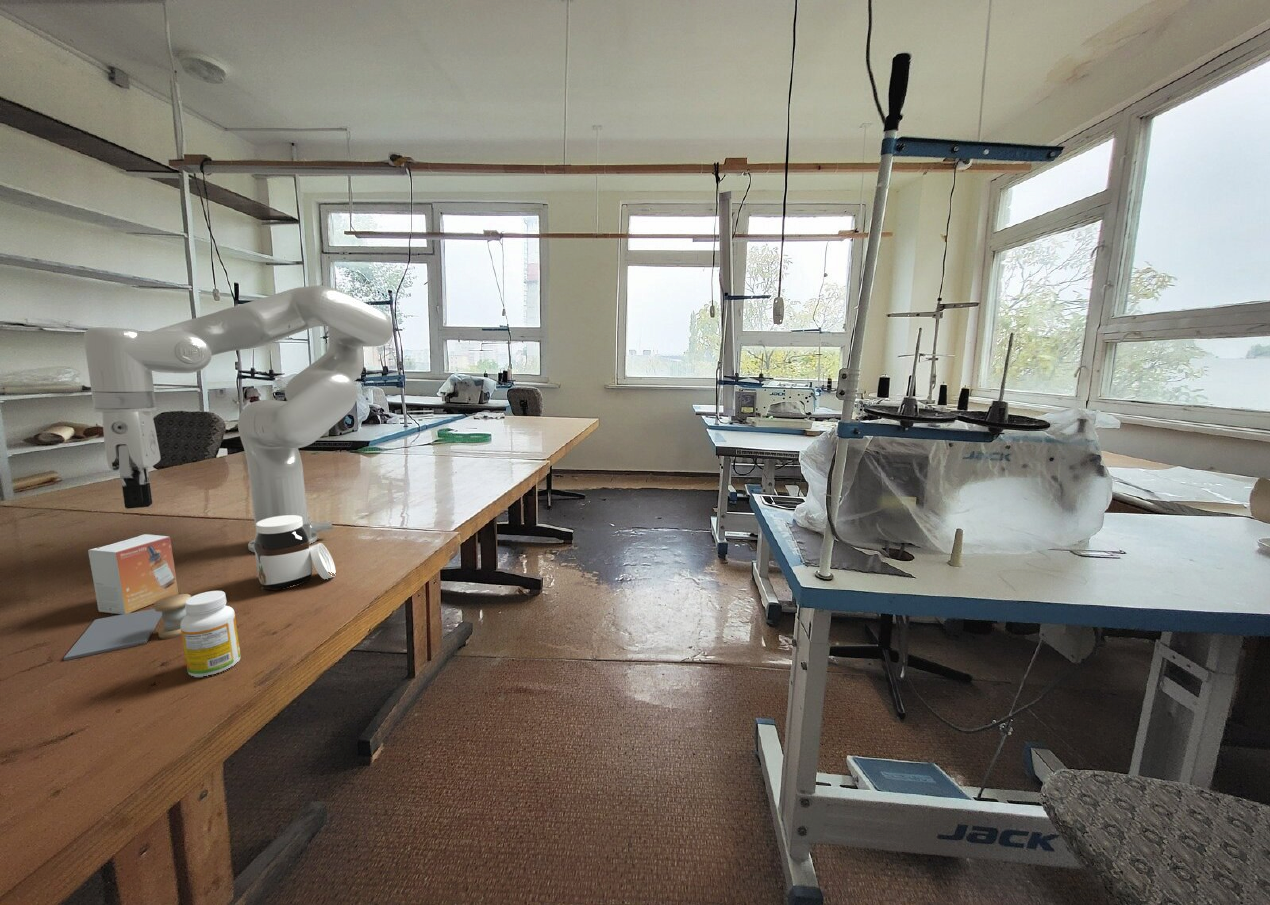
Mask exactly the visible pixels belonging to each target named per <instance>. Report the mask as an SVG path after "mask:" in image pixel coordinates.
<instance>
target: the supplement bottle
mask: <svg viewBox="0 0 1270 905" xmlns="http://www.w3.org/2000/svg"><path fill="white" fill-rule="evenodd" d="M185 609H186V613H187V616H185V617H184V618H183V620H182V621H181V624H180V627H181V634H182V636H181V639H182V645H183V652H184V657H185V665H186V669H187V673H188V675H189V676H190V675H191V677H192V676H194V677H193V678H204V677H203V676H207V677H209V676H208V675H211V674H216V673H218V672H221V671H223V670H226V669H228V668H230V667H231V666H233V667H234V665H235V664H236V663H237V662H238V663H239V662H240V660H241V658H242V657H241V649H240V642H239V634H238V627H237V620H236V612H235V610H234V608H233V607H231V606H229V605H227V597H226V592H224V591H222V590H211V591H205V592H201V593H198V594H197V593H196V594H195V595H191V597H190V598H188V599H187V600H186V601H185ZM238 663H237V664H238ZM237 664H236V665H237ZM236 665H235V666H236ZM230 669H231V668H230ZM228 670H229V669H228ZM226 671H227V670H226ZM216 675H217V674H216Z"/></svg>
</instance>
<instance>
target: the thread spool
mask: <svg viewBox="0 0 1270 905" xmlns="http://www.w3.org/2000/svg"><path fill="white" fill-rule="evenodd" d="M190 597H192V595H191V594H189V593H178V594H177V595H172V596H168V597H165V598H162V599H160V600H158V601H156V602H155V603H153V607H154V608H153V609H154V610H155V611H157V612H162V616H161V618H162V622H163V626H162V627H160V628H159V629H158V630H157V633H158V638H159V639H162V640H167V639H174V638H179V637H182V634H181V627H180V624H181V621H182V620H183V618H184V617H185V616H187V615H188V614H187V613H186V609H185V601H186V600H187V599H188V598H190Z"/></svg>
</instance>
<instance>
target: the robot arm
mask: <svg viewBox="0 0 1270 905" xmlns="http://www.w3.org/2000/svg"><path fill="white" fill-rule="evenodd" d="M317 327H327V332H328V333H327V334H328V343H329V344H328V348H327V350H326V352H325V353H324V354H323V355H321V356H320V357H319V358H318V359H317V360H316V361H314V362H313V363H311V364H310V365H308V366H307V367H305V368H304V369H303V370H301V371H300V372H298V373H297V374H296V375H294V376H293V377H292V378H290V380H288V382H287V383H286V386H285V388H284V396H285V399H286V400H285V401H284V400H279V399H278V400H277V399H261V400H257V401H253V402H251V403H249V404H247V405H246V406H245V407H244V408H243V409H242V410H241V412H240V413H239V415H238V418H237V428H238V433H239V434H238V435H239V438H240V441H241V444H242V446H243V450H244V453H245V458H246V459H245V460H246V463H247V464H246V465H247V470H248V478H249V488H250V495H251V496H250V497H251V504H252V512H253V513H252V514H253V520H254V529H255V536H256V535H257V534H258V532H257V530H256V523H257V522H259V521H261V520H263V519H267V518H271V517H276V516H285V515H297V516H301V517H302V521H303V526H302V527H303V528H304V530H305V531H306V533H307V536H308V539H309V543H310V545H312V544H313V542H314V543H315V542H317V540H318V538H319V534H318V532H327V531H333V521H328V522H326V520H322V521H317V522H314V521H311V518H310V516H308V508H307V498H306V489H305V479H304V469H303V467H304V465H303V461H302V457H301V454H300V451H299V450H300V448H305V447H307V446H309V445H311V444H313V443H315V442H316V441H317V440H319V439H320V438H321V437H323V436H324V435H325V434H326V433H327V432H329V430H331V429H332V428H333V427H334V426H335V425H336V424H337V423H339V422H340V421H341V420H342V419H343V418H344V417H346V416H347V415H348V413H349V412H351V411H352V409H353V408H354V406H355V404H356V402H357V399H358V389H357V385H356V383H355V382H356V380H357V379H358V378H360V376H361V374H362V373H363V370H364V364H365V362H364V361H365V360H364V358H365V357H364V347H366V348H368V347H380V346H383V345H386V344H387V343H388V342H390V340H391V338H392V337H393V332H394V328H393V327H394V326H393V324H392V321H391V319H390V318H389V317H388V315H386V313H384V312H383V311H382V310H381V309H379V308H377V307H374V306H373V305H370V304H368V303H366V302H364V301H362V300H360V299H358V298H356V297H354V296H351V295H349V294H347V293H345V292H343V291H340V290H339V289H336V288H334V287H331V286H327V285H323V284H322V285H321V284H320V285H311V286H310V285H309V286H300V287H299V286H298V287H295V288H291V289H287V290H284V291H281V292H278V293H274V294H271V295H268V296H264V297H262V298H258V299H256V300H252V301H249V302H245V303H242V304H241V303H240V304H238V305H235V306H231V307H228V308H224V309H221V310H218V311H215V312H212V313H209V314H206V315H201V316H199V317H195V318H191V319H188V320H184V321H181V322H177V323H174V324H171V325H168V326H164V327H160V328H157V329H154V330H151V331H141V330H140V331H139V330H136V329H133V328H132V329H130V328H120V327H119V328H118V327H116V328H115V327H91V328H88V329H86V330H85V332H84V334H83V342H84V349H85V356H86V362H87V369H88V376H89V384H90V391H91V397H92V405H93V412H94V413H101V414H102V429H103V439H104V440H103V441H104V449H105V457H106V462H107V465H108V468H109V469H110V470H111V471H114V472H115V471H116V472H117V471H118V472H119V477H120V482H121V487H122V489H121V490H122V494H123V504H124V507H125V509H127V510H129V509H139V508H149V507H150V506H152V505H153V496H152V489H151V484H150V476H149V469H150V468H152V467H153V466H155V465H156V464H158V463H159V462H160V461H161V451H160V447H159V446H160V445H159V442H158V436H157V430H156V425H155V421H154V417H153V413H152V411H153V412H154V411H157V404H156V396H155V395H156V394H155V388H154V379H153V372H156V373H163V374H164V373H166V374H167V373H168V374H170V373H171V374H191V373H192V374H193V373H196V372H200V371H201V370H203V369H205V368H206V367H207V366H208V365H209V364H210V362H211V361H212V356H215V355H219V354H223V353H229V352H234V351H240V350H249V349H255V348H259V347H260V348H261V347H263V346H267V345H270V344H273V343H275V342H278V341H280V340H283V339H285V338H287V337H290V336H293V335H297V334H299V333H301V332H304V331H306V330H309V329H313V328H317ZM254 540H255V538H254V539H252V540H250V541H249V542H248V545H247V547H248V551H251V552H252V553H255V549H254ZM311 543H312V544H311Z"/></svg>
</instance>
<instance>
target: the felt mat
mask: <svg viewBox="0 0 1270 905" xmlns="http://www.w3.org/2000/svg"><path fill="white" fill-rule="evenodd" d="M161 618H162V612H157V611H155V610H154V608H150V609H145V610H140V611H133V612H131V613H128V614H123V615H122V614H116V615H112V616H108V617H107V616H106V617H102V618H97V619H94V620H93V622H92V623H91V624H90V625H89V626H88V628H87V629H86V630H85V631H84V632H83V634H82V635H81V636H80V637H79V638H78V640H77V641H76V642H75V644H74V645H73V646H72V647H71V648H70V650H69V651H68V652H67V653H66V655H65V656H64V657H63V661H70V660H73V659H79V658H83V657H84V658H85V657H88V656H93V655H97V654H102V653H107V652H111V651H115V650H116V651H117V650H121V649H126V648H130V647H135V646H140V645H145V644H147V642H148V641H149V639H150V637H151V636H152V634H153V632H154V631H155V629H156V627H157V625H158V623H159V621H160V620H161ZM139 644H140V645H139Z"/></svg>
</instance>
